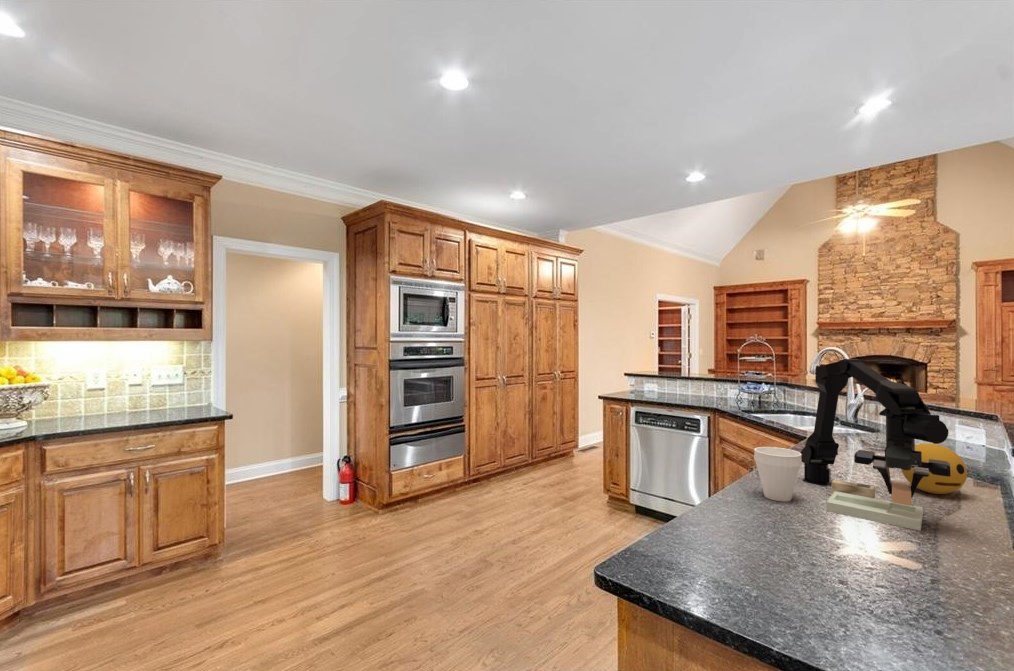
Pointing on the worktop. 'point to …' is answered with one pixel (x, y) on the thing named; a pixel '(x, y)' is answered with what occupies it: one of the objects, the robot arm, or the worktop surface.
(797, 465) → the cup
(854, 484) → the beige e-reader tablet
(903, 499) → the orange rectangular block
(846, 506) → the jig
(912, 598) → the worktop surface
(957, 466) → the toy
